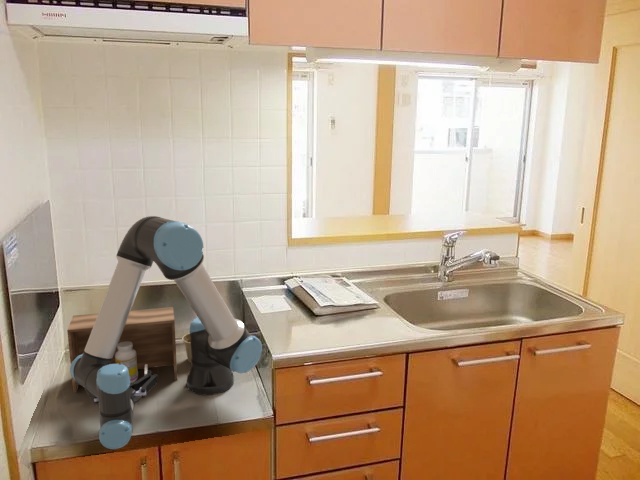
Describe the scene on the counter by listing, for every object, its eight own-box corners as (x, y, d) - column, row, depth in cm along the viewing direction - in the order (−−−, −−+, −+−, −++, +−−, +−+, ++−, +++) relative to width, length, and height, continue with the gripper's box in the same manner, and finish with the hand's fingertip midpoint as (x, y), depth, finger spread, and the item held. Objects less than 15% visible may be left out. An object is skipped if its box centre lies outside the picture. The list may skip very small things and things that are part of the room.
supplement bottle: (118, 376, 174) (115, 340, 171) (139, 374, 175) (136, 339, 172) (115, 385, 168) (112, 349, 165) (136, 383, 169) (134, 347, 166)
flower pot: (203, 366, 182) (202, 343, 180) (178, 363, 183) (177, 341, 181) (213, 355, 190) (213, 333, 189) (190, 352, 192) (189, 330, 190)
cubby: (177, 379, 172) (174, 320, 167) (73, 393, 163) (67, 330, 158) (175, 363, 183) (173, 307, 179) (78, 375, 174) (73, 315, 169)
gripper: (69, 425, 138) (80, 386, 157) (167, 411, 145) (165, 377, 165) (67, 399, 136) (78, 364, 156) (166, 387, 143) (164, 355, 163)
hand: (123, 370), depth 160 cm, fingers open, 13 cm apart
